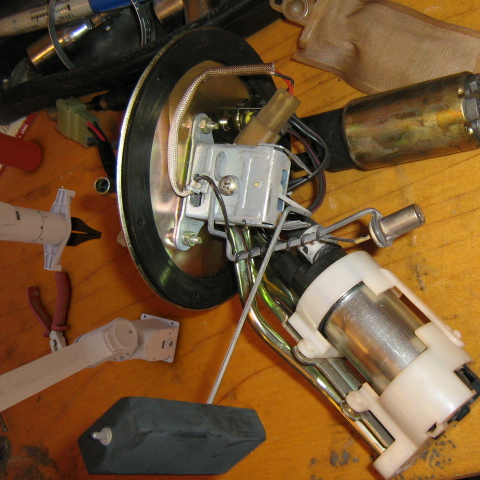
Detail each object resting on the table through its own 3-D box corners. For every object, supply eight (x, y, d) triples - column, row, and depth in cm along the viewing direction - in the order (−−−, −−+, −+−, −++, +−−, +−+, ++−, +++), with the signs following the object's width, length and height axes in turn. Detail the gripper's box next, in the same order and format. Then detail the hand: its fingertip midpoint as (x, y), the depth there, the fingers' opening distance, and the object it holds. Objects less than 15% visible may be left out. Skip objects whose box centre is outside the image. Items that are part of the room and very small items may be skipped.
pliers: (49, 373, 102) (38, 375, 100) (33, 288, 107) (22, 287, 104) (86, 357, 99) (76, 359, 96) (68, 270, 103) (57, 269, 101)
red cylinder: (44, 143, 110) (-3, 128, 100) (39, 172, 110) (-9, 160, 100) (24, 142, 113) (-24, 127, 103) (19, 170, 113) (-30, 158, 102)
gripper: (23, 181, 79) (89, 196, 92) (7, 265, 78) (76, 268, 91) (51, 185, 76) (115, 199, 89) (35, 271, 76) (102, 274, 88)
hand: (97, 234), depth 90 cm, fingers closed
